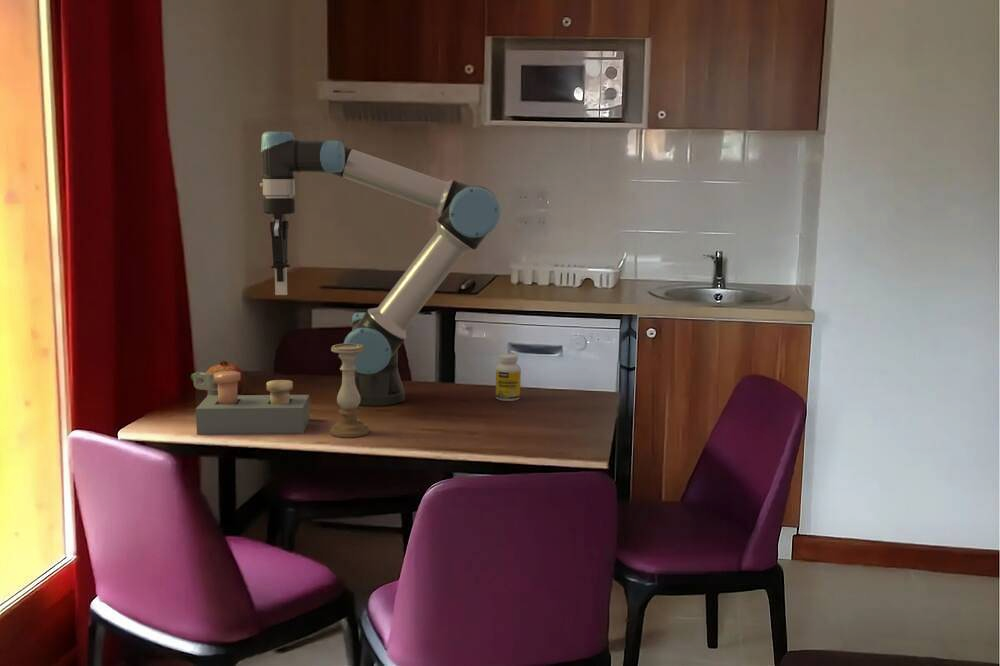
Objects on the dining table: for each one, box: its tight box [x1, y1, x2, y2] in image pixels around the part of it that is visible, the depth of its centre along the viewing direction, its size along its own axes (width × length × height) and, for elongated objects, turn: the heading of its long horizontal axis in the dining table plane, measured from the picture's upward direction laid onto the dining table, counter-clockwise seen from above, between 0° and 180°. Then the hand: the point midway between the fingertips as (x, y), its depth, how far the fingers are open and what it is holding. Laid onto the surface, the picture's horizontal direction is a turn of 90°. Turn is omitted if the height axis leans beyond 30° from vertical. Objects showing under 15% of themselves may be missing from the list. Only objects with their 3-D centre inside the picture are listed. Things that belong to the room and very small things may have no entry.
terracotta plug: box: [214, 371, 241, 404], centre depth 238 cm, size 6×6×10 cm
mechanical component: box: [190, 371, 218, 397], centre depth 250 cm, size 3×10×10 cm, turn 78°
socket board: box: [195, 394, 311, 435], centre depth 239 cm, size 24×13×6 cm, turn 94°
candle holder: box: [329, 343, 369, 438], centre depth 233 cm, size 9×9×20 cm
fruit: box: [206, 359, 246, 395], centre depth 266 cm, size 11×10×10 cm
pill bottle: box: [495, 353, 522, 402], centre depth 269 cm, size 6×6×12 cm
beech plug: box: [266, 379, 294, 404], centre depth 239 cm, size 6×6×10 cm
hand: (281, 294), depth 249 cm, fingers closed
